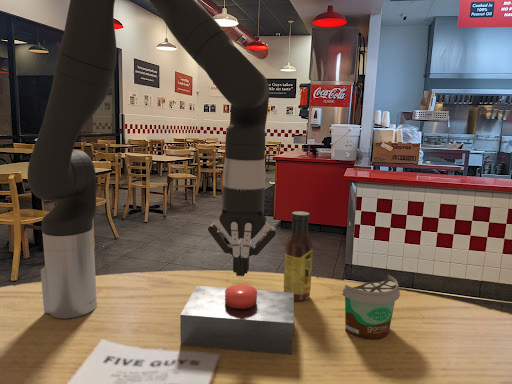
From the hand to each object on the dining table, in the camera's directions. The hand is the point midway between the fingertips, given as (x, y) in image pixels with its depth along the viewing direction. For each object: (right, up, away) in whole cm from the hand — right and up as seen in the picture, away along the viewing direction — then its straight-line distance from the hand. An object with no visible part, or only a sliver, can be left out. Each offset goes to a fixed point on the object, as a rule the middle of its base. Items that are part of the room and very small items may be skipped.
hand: (240, 274), depth 73 cm
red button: (0, -10, +2) cm, 10 cm away
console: (0, -11, +2) cm, 12 cm away
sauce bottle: (+12, -9, +18) cm, 23 cm away
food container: (+26, -12, +3) cm, 29 cm away
